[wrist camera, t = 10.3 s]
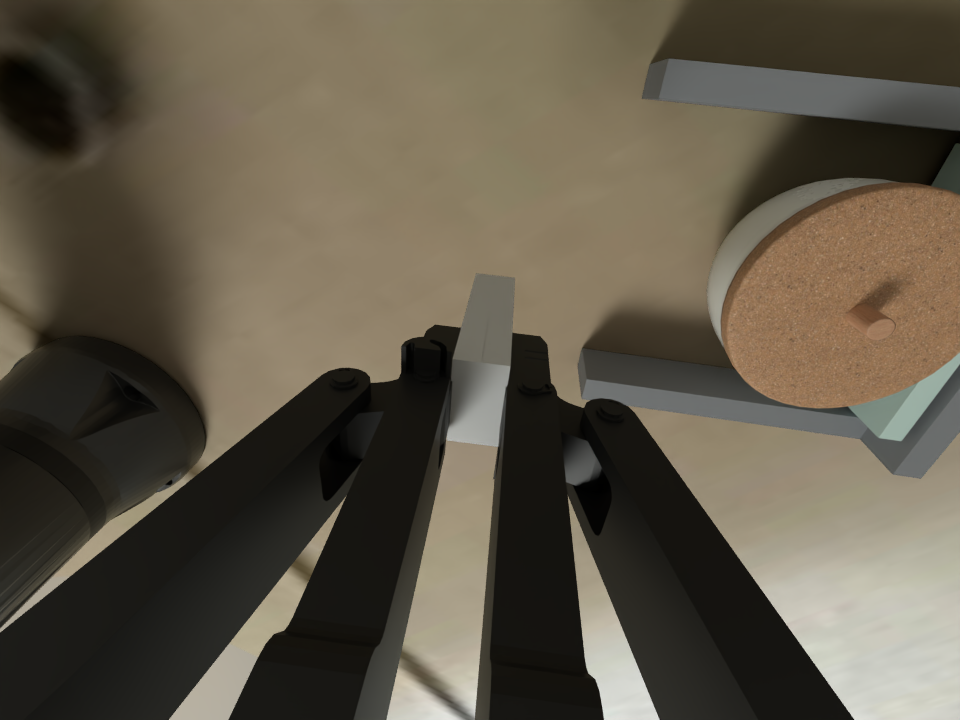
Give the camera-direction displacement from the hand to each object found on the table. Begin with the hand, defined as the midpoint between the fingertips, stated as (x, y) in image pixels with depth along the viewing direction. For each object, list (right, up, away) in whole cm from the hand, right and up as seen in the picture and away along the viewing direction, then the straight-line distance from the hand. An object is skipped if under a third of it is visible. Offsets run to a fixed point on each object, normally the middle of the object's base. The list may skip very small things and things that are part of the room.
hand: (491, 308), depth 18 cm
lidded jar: (+17, +4, +9) cm, 20 cm away
